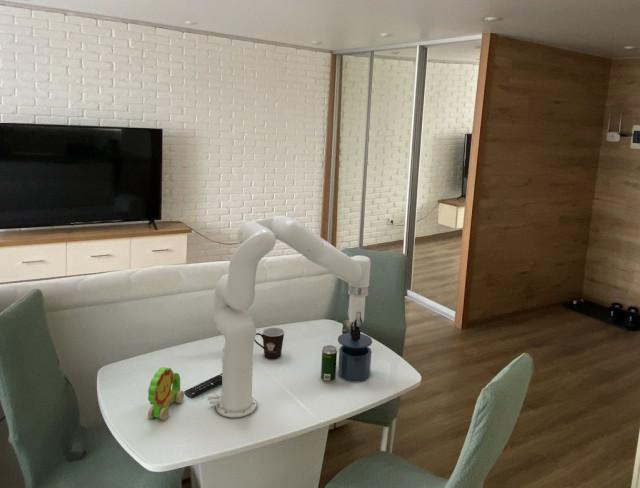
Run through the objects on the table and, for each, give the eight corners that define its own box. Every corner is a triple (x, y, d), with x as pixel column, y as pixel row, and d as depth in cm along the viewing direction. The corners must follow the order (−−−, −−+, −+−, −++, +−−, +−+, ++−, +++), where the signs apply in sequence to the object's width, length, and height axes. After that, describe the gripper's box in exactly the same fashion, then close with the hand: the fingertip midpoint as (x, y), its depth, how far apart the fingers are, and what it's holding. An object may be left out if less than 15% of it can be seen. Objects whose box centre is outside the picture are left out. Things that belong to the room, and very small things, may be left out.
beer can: (335, 383, 188) (337, 351, 187) (320, 382, 188) (322, 351, 186) (335, 376, 194) (337, 345, 192) (320, 375, 193) (322, 344, 192)
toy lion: (169, 397, 173) (170, 354, 171) (185, 399, 172) (185, 356, 170) (142, 424, 158) (142, 376, 156) (159, 427, 157) (159, 379, 155)
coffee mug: (287, 355, 208) (288, 331, 207) (273, 363, 201) (274, 338, 200) (265, 347, 215) (266, 324, 213) (251, 354, 207) (251, 330, 206)
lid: (339, 349, 187) (340, 331, 186) (336, 335, 200) (337, 318, 199) (374, 350, 188) (375, 332, 188) (369, 335, 201) (370, 319, 200)
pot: (340, 385, 187) (341, 360, 186) (336, 363, 204) (337, 340, 202) (372, 385, 188) (374, 360, 187) (366, 363, 205) (367, 340, 204)
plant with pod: (335, 345, 219) (338, 300, 217) (359, 341, 225) (361, 296, 223) (345, 353, 212) (347, 306, 210) (368, 348, 218) (371, 302, 216)
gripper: (346, 282, 199) (343, 328, 201) (350, 296, 183) (347, 346, 185) (365, 283, 200) (362, 329, 202) (371, 297, 184) (368, 347, 186)
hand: (355, 337), depth 194 cm, fingers closed on lid, 2 cm apart
